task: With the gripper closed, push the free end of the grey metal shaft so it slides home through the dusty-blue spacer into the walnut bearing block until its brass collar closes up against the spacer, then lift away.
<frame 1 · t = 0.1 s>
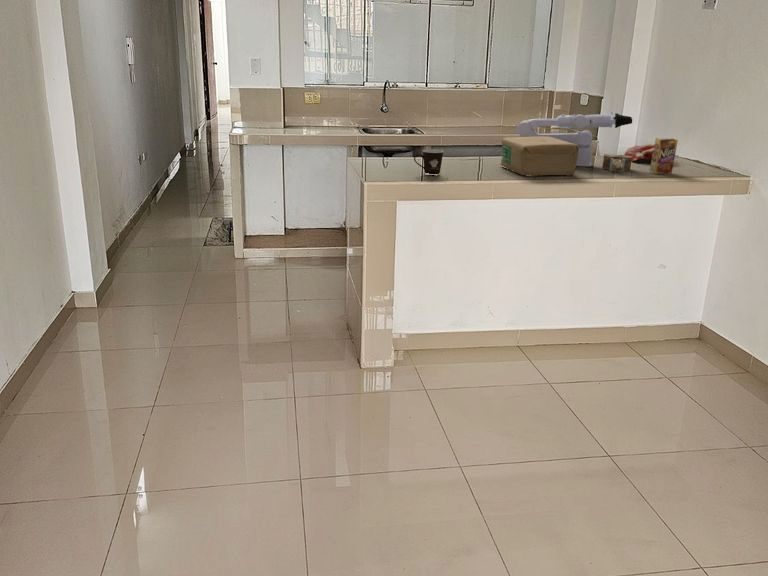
hand: (631, 120, 304), 22 cm above the countertop, tool horizontal, fingers open, 7 cm apart
candy box: (660, 173, 301), on the countertop
paper package: (535, 171, 300), on the countertop
coffee mug: (428, 174, 287), on the countertop
meat: (645, 162, 331), on the countertop
shaft: (617, 165, 301), point 3 cm above the countertop, slide at 0.0 cm
spacer: (616, 170, 304), on the countertop
bearing block: (616, 169, 308), on the countertop
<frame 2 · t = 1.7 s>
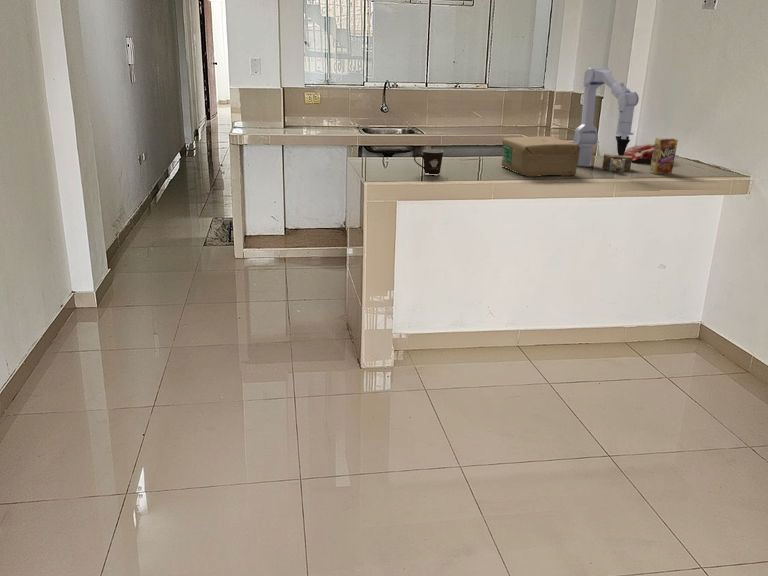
hand: (620, 154, 289), 9 cm above the countertop, tool pointing down, fingers open, 6 cm apart
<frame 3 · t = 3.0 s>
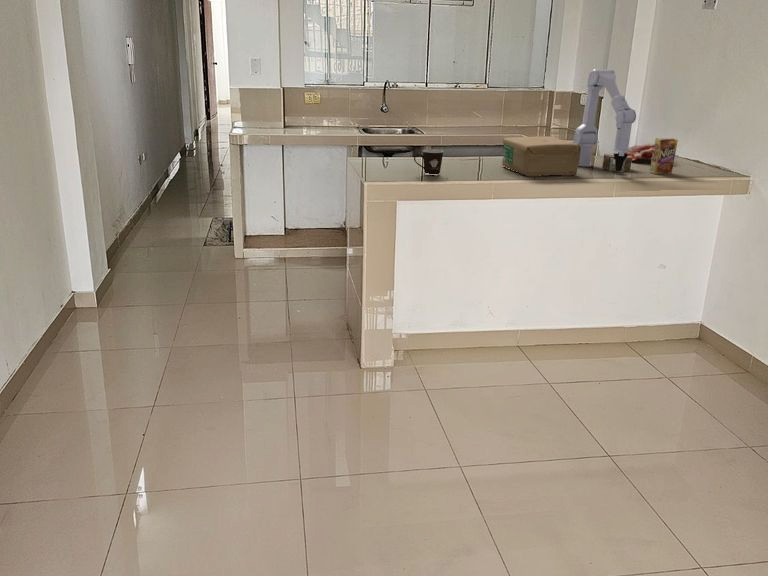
hand: (618, 170, 291), 2 cm above the countertop, tool pointing down, fingers closed
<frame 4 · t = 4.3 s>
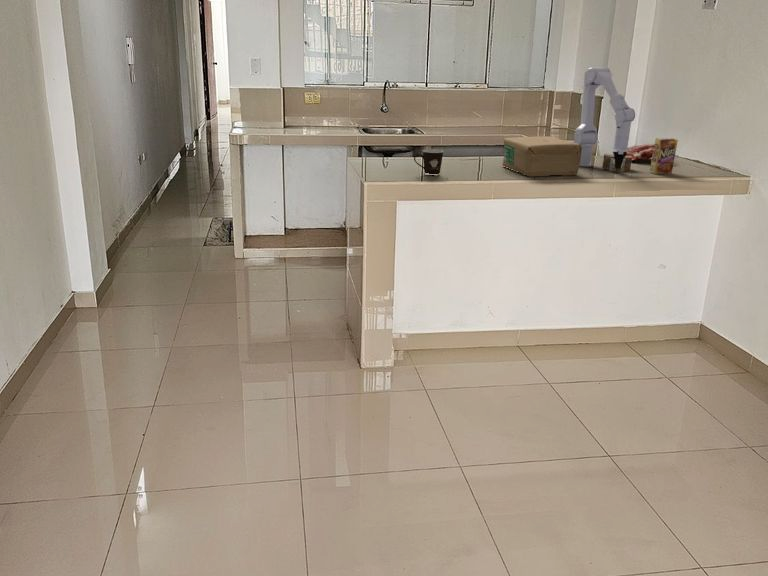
hand: (617, 168, 296), 2 cm above the countertop, tool pointing down, fingers closed
shaft: (617, 164, 302), point 3 cm above the countertop, slide at 1.3 cm, touching gripper
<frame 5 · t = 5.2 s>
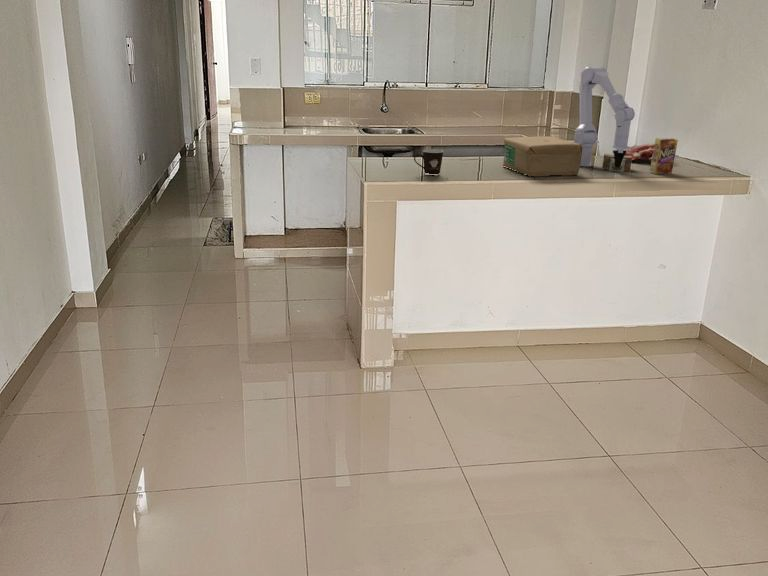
hand: (617, 166, 300), 2 cm above the countertop, tool pointing down, fingers closed
shaft: (617, 163, 305), point 3 cm above the countertop, slide at 5.0 cm, touching gripper
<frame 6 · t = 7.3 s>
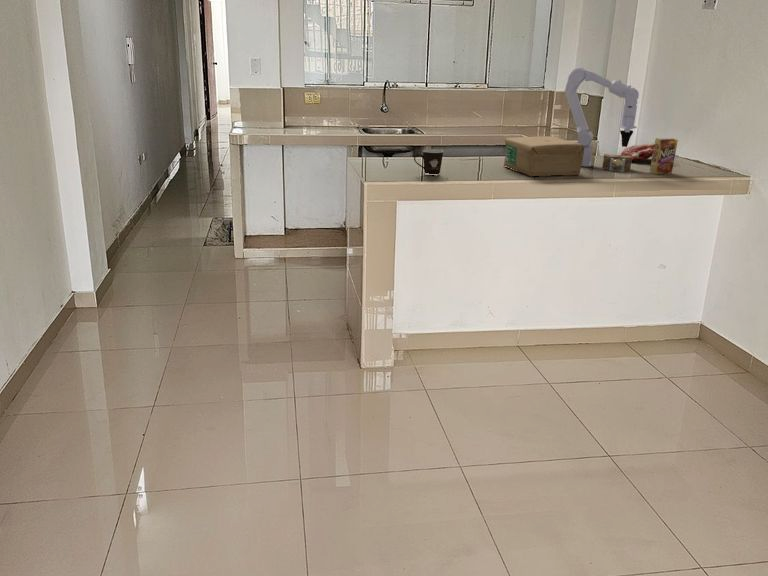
hand: (624, 146, 307), 10 cm above the countertop, tool pointing down, fingers closed
shaft: (617, 163, 305), point 3 cm above the countertop, slide at 5.0 cm
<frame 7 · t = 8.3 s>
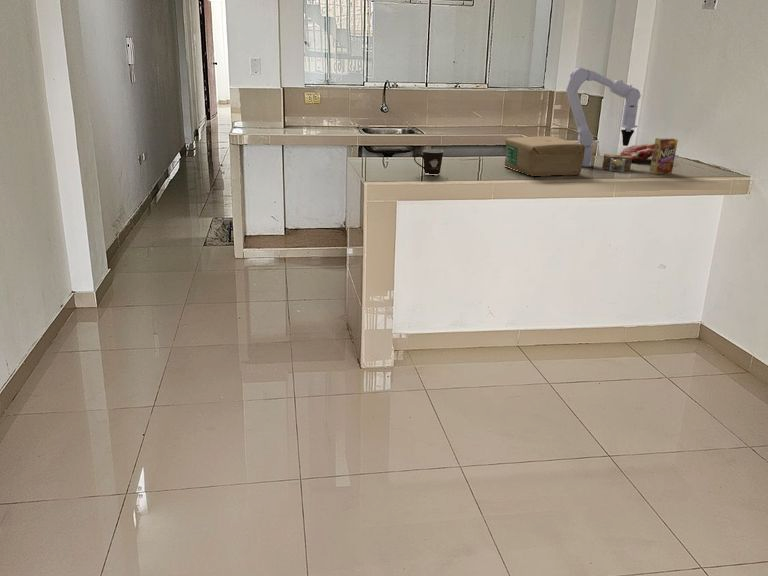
hand: (625, 145, 310), 10 cm above the countertop, tool pointing down, fingers closed
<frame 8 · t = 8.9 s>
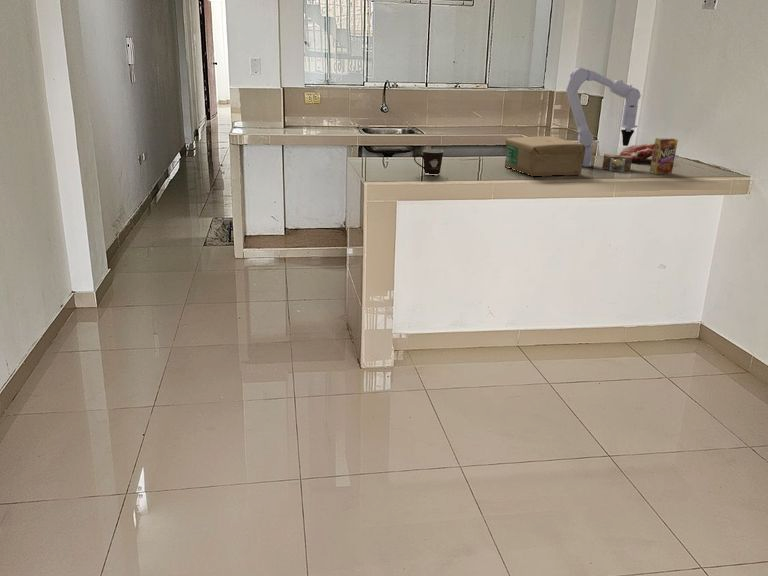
hand: (625, 145, 310), 10 cm above the countertop, tool pointing down, fingers closed
at the end: shaft slide at 5.0 cm; spacer moved 0.1 cm from its start; spacer tilted 0° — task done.
